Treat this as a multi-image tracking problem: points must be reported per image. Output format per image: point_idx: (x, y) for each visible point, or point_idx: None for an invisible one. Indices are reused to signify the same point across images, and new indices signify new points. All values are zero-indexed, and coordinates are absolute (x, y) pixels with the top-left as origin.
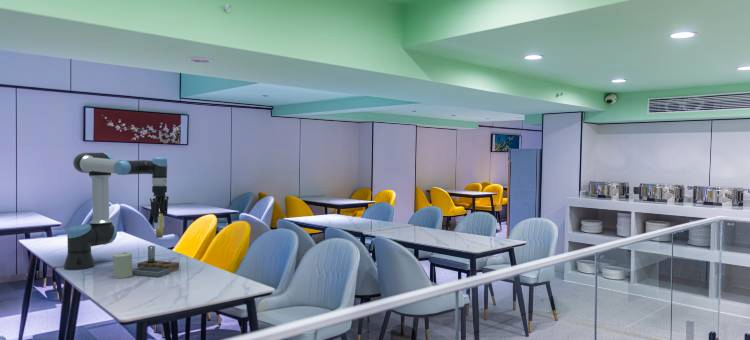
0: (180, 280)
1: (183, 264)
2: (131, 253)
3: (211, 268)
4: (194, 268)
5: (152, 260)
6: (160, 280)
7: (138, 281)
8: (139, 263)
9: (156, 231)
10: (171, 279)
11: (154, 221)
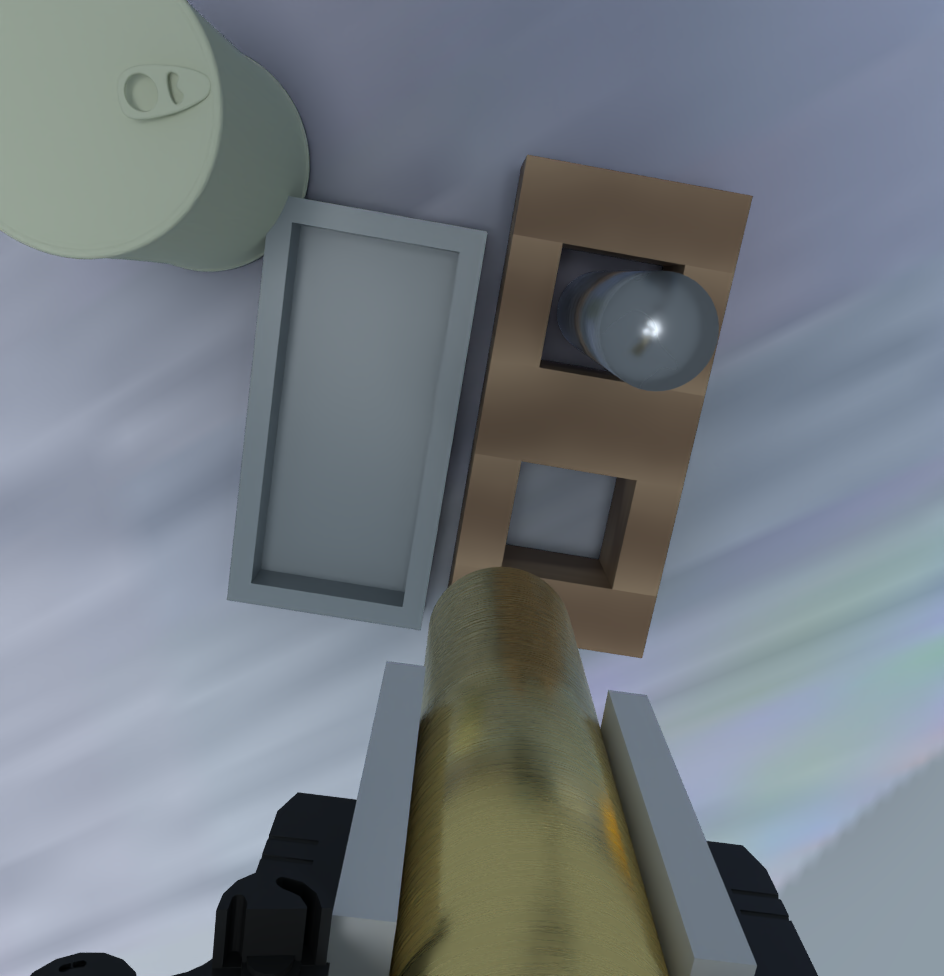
0: (175, 829)
1: (897, 557)
2: (151, 234)
3: None
4: (698, 752)
5: (583, 351)
6: (127, 657)
7: (30, 465)
8: (521, 188)
9: (427, 666)
10: (191, 737)
11: (270, 838)
